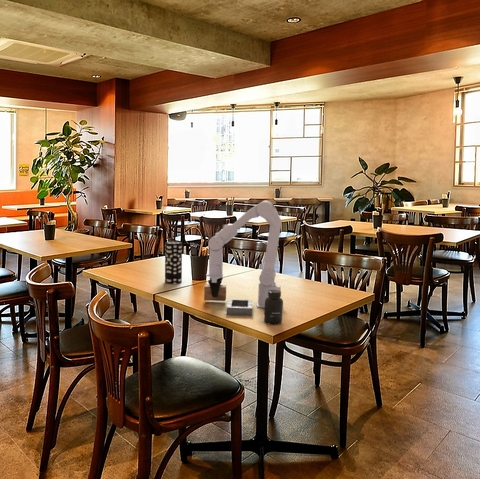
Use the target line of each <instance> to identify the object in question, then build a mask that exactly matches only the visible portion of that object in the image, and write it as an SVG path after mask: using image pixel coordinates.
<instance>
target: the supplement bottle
mask: <svg viewBox="0 0 480 479" xmlns="http://www.w3.org/2000/svg"><path fill="white" fill-rule="evenodd" d="M283 307H284V299H283V298H282V290H281V291H279V290H269V291H268V297H267V298H266V299H265V308H264V310H263V312H264V313H263V314H264V315H263V321H264V323H265V324H268V325H274V326H276V325H281V324H282V322H283V315H284V314H283V313H284V312H283V311H284V310H283V309H284V308H283Z"/></svg>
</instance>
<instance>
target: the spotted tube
mask: <svg viewBox="0 0 480 479" xmlns="http://www.w3.org/2000/svg"><path fill="white" fill-rule="evenodd" d="M164 243H165V244H164V283H165V284H168V285H177V284H181V283H182V278H183V276H182V275H183V267H182V266H183V242H181V241H166V242H164Z"/></svg>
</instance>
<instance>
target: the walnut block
mask: <svg viewBox="0 0 480 479" xmlns="http://www.w3.org/2000/svg"><path fill="white" fill-rule="evenodd" d="M203 291H204V295H203V296H204V297H203V300H204V301H208V302H209V301H213V302H214V301H216V302H226V300H227V284H220V287H219V292H218V296H217V297H212V293H211V288H210V285H209V283H208V284H205V285H204V289H203Z"/></svg>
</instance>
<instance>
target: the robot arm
mask: <svg viewBox="0 0 480 479" xmlns="http://www.w3.org/2000/svg"><path fill="white" fill-rule="evenodd" d="M259 217H260V218H263V219H264V220H265V221H266V222H267V223H268V224H269V228H268V229H269V230H268V237H267V244H266V247H265V248H266V250H265V255H264V256H265V257H264V261H263V267H262V270H261V272H260V274H259V276H258V281H259V282H258V290H257V292H258V294H257V295H258V296H257V299H258V300H257V302H256V307H257V308H263V309H265V299H266V298H267V297H268V291H269V290H279V291H281V292H282V290H281V285H277V284H276V282H275V278H276V271H275V266H276V260H277V254H278V253H277V252H278V247H279V239H280V234H281V227H282V219H281V217H280V215H279V213H278V210H277V208H276V206H275V205H274V204H273V203H272V202H271V201H270V200H262V201H261V202H258V204H256V205H255V206H253V207H251V208H250V209H248V210H247V211H246V212H245V213H244V214H242V215H241V217H239V218H238V219H237V220H236V221H235V222H234V223H227V224H224V225H223V228H221V229H220V230H219V231H218V232H215V233H214V236H211V237H210V238H209V240H208V247H209V256H208V258H209V259H208V265H209V266H208V273H206V275H205V277H209V280H208V281H207V282H208V284H209V285H210V288H211V293H212V297H217V296H218V292H219V287H220V285H222V281H223V278H224V274H223V265H224V264H223V260H224V259H223V257H224V252H223V247H224V245H225V244H227V243H228V242H230V241H231V240H232V239H233V238H234V237H236V236H237V235H238V232H239V229H240V228H242V227H243V226H244V225H245V224H247V223H248V222H249V221H250V220H252V219H255V218H259Z"/></svg>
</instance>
